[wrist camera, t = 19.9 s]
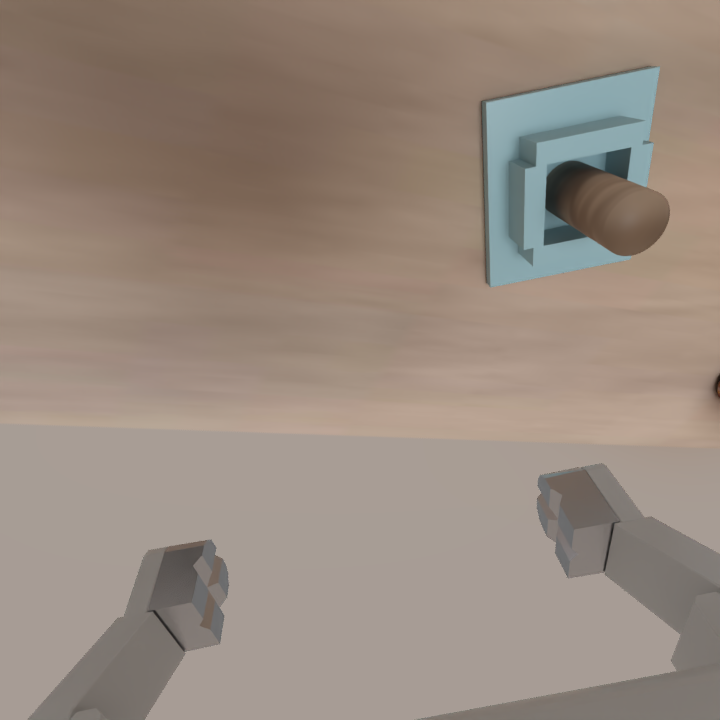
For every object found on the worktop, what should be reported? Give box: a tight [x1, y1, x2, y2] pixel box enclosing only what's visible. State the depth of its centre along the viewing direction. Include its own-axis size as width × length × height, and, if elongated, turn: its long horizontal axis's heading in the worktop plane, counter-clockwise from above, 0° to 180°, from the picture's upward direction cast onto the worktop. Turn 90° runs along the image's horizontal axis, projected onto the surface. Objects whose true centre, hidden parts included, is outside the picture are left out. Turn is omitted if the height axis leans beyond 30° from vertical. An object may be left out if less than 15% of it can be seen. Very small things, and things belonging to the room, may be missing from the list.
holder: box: [482, 66, 660, 287], centre depth 35 cm, size 14×12×4 cm
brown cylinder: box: [545, 161, 670, 256], centre depth 32 cm, size 4×4×9 cm
